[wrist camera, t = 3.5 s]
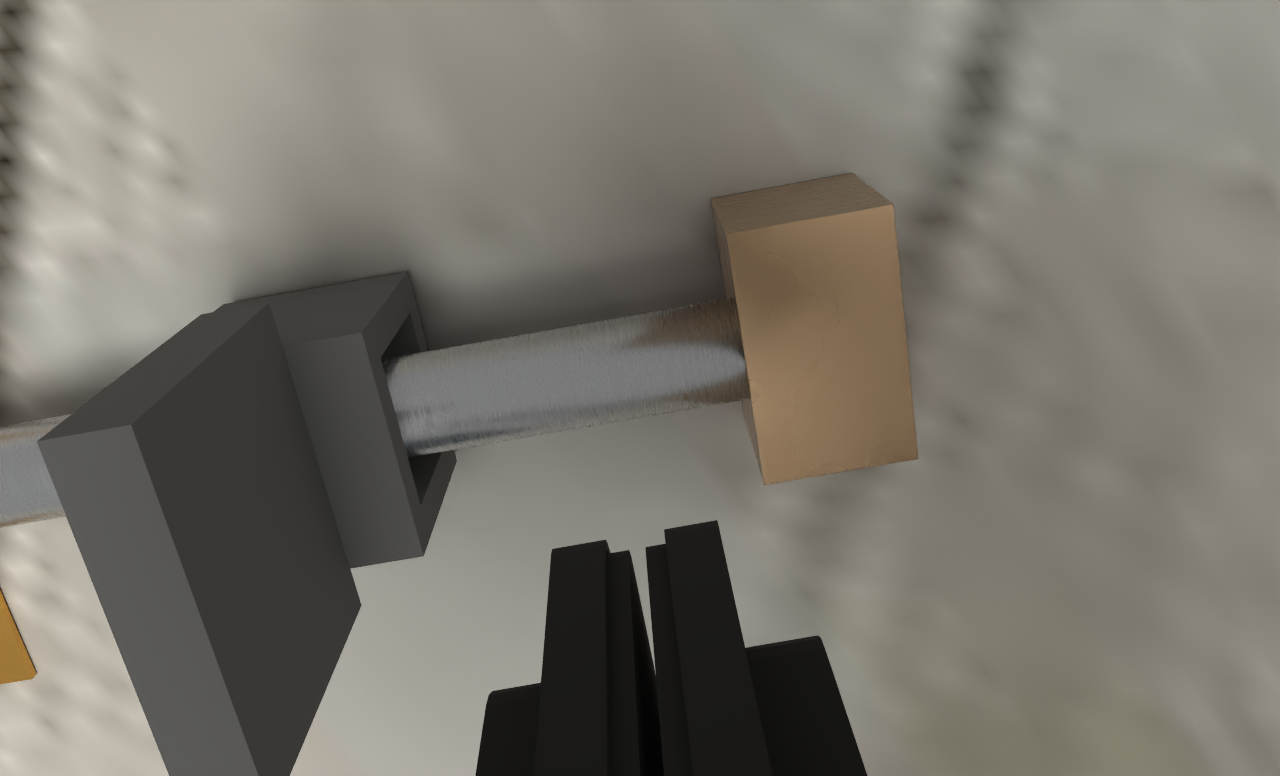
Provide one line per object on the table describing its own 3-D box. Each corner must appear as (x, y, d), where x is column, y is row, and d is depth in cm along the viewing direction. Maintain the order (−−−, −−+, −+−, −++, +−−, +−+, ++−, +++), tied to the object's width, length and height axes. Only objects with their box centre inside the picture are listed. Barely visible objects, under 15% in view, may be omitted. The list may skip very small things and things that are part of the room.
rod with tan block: (833, -3, 22) (874, -2, 18) (892, 532, 26) (935, 618, 22) (-543, 255, 23) (-755, 303, 19) (-280, 726, 27) (-416, 837, 23)
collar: (398, 234, 23) (242, 405, 13) (464, 492, 25) (370, 799, 15) (211, 267, 23) (-73, 460, 13) (292, 522, 25) (94, 843, 15)
